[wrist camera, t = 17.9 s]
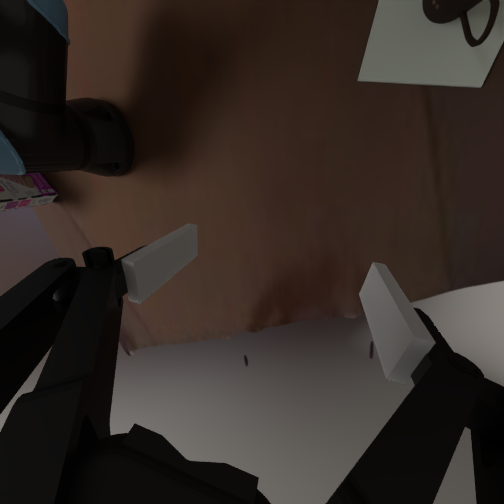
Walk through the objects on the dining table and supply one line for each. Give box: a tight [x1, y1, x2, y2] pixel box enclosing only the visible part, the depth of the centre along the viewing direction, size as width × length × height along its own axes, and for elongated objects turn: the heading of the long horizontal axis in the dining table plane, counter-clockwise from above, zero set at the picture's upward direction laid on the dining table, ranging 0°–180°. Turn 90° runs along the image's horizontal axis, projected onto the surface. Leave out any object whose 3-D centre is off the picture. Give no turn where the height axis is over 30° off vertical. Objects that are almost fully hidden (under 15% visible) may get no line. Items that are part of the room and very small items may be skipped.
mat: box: [357, 0, 504, 88], centre depth 26 cm, size 16×16×1 cm
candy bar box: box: [0, 173, 58, 211], centre depth 50 cm, size 11×5×16 cm, turn 36°
